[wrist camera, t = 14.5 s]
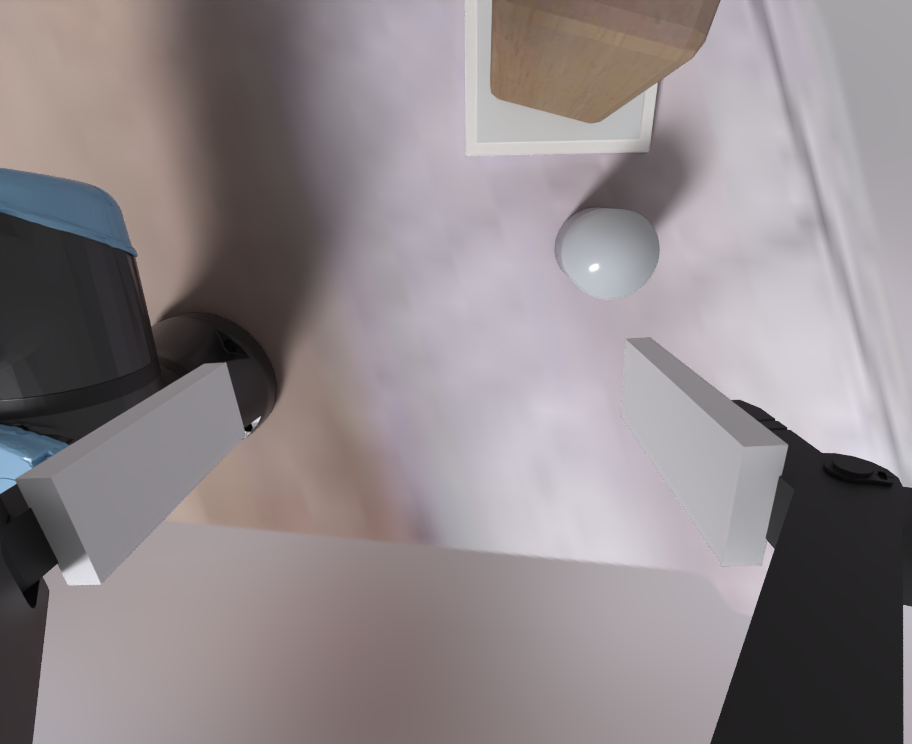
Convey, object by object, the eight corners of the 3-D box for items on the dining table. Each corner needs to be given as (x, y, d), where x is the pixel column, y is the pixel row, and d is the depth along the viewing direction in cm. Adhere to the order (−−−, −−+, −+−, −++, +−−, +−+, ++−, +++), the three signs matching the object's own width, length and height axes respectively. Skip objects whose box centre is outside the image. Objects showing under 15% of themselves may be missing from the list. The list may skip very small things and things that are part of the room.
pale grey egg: (552, 283, 44) (565, 299, 37) (557, 207, 42) (572, 209, 34) (624, 282, 44) (652, 299, 36) (633, 206, 41) (665, 208, 34)
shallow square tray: (466, 156, 41) (465, 155, 40) (464, -70, 35) (464, -76, 34) (646, 152, 40) (649, 151, 39) (675, -81, 34) (679, -89, 33)
